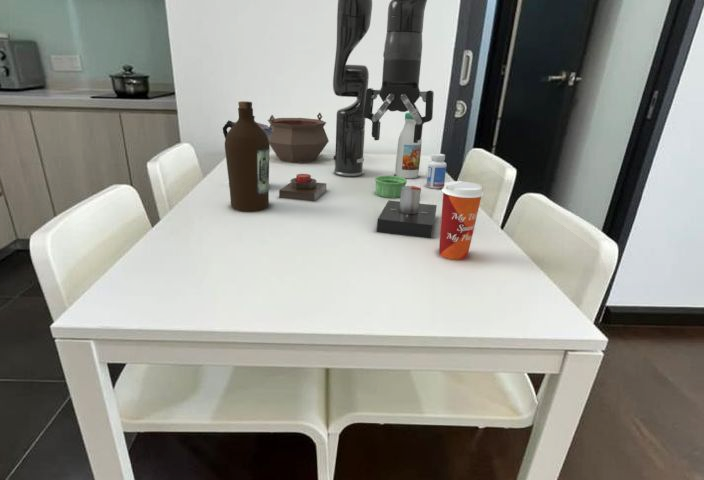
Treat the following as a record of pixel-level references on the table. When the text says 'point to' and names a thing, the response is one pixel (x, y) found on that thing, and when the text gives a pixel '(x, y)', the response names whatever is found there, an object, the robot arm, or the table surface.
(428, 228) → the panel
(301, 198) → the dark brown square base
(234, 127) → the olive oil
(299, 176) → the power button
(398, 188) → the ramekin
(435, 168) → the pill bottle
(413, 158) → the milk bottle
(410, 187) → the knob
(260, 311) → the table surface
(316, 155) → the brown cauldron
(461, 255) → the paper cup
